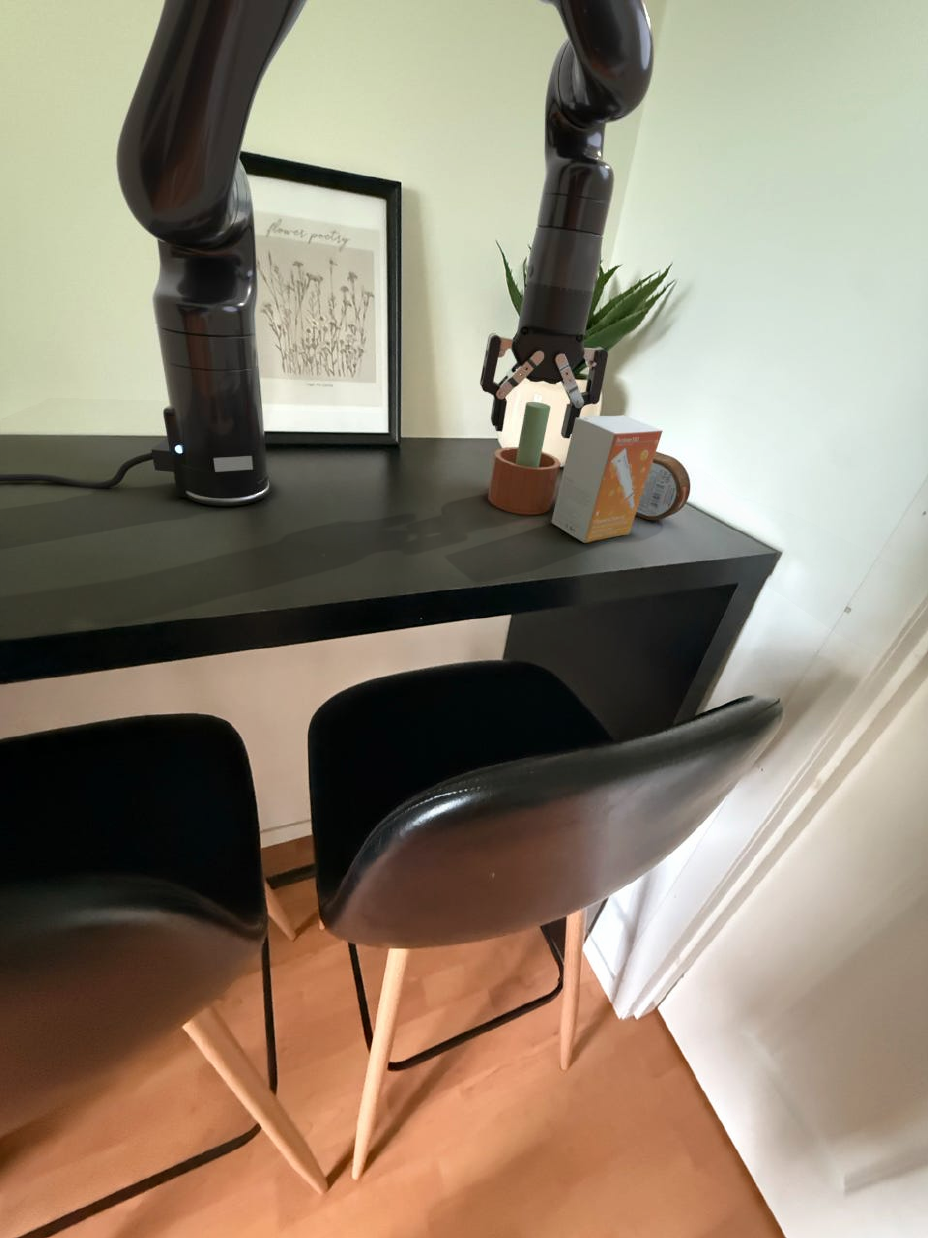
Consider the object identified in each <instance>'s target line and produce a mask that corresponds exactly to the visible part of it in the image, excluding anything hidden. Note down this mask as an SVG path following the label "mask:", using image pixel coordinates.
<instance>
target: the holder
mask: <svg viewBox="0 0 928 1238" xmlns="http://www.w3.org/2000/svg"><path fill="white" fill-rule="evenodd" d="M517 452H518V446H510V447H507V446H505V447H502V448H498V449H497V450H496V451H494V453H493V459H492V460H493V461H492V467H491V474H490V480H489V485H488V486H489V487H488V496H487V499H488V501H489V503H491V505H493V506H495V507H496V508H498V509H500V510H503V511H505V512H507V513H513V514H517V515H523V516H524V515H526V516H535V515H542V514H546V513H548V512H549V511H550V510H551V508H552V504H553V501H554V496H555V492H556V486H557V482H558V477H559V473H560V468H561V464H562V463H561V461H560V460H559V458H557V457H555V456H554V455H552V454H550V453H547V452H545V451H542V453H541V458H540V463H539V468H536V467H526V466H522V465H517V464H516V458H517Z"/></svg>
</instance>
